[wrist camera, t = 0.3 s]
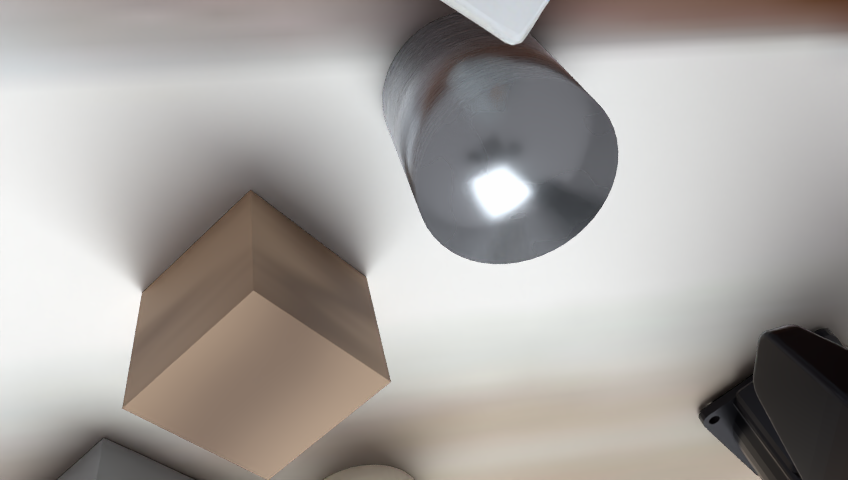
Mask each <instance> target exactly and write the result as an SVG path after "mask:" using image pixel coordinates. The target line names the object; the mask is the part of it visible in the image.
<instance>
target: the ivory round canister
mask: <svg viewBox="0 0 848 480" xmlns="http://www.w3.org/2000/svg"><path fill="white" fill-rule="evenodd" d="M323 480H414V479H413V478H412V477H411V476H410V475H409V474H408V473H406V472H404V471H402V470H400V469H398V468H395V467H391V466H386V465H361V466H355V467H351V468H347V469H344V470H341V471H339V472H336V473H334V474H332V475H330V476H328V477H327V478H325V479H323Z"/></svg>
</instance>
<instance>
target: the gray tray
mask: <svg viewBox="0 0 848 480" xmlns="http://www.w3.org/2000/svg"><path fill="white" fill-rule="evenodd" d="M57 480H194V479H192V478H190V477H188V476H186V475H184V474H181V473H179V472H177V471H175V470H173V469H171V468H168V467H166V466H164V465H162V464H160V463H158V462H155V461H153V460H151V459H149V458H147V457H145V456H142V455H140V454H138V453H136V452H134V451H132V450H129V449H127V448H125V447H123V446H121V445H119V444H116V443H114V442H112V441H110V440H108V439H106V438H103V439H102V440H101V441H100V442H99V443H97V444H96V445H95V446H94V447H93V448H92V449H91V450H90V451H89V452H87V453H86V454H85V455H84V456H83V457H82V458H81V459H80V460H78V461H77V462H76V463H75V464H74V465H73V466H72V467H71V468H69V469H68V470H67V471H66V472H65V473H64V474H63V475H62V476H61V477H59V478H58V479H57Z"/></svg>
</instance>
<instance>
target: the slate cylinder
mask: <svg viewBox="0 0 848 480" xmlns="http://www.w3.org/2000/svg"><path fill="white" fill-rule="evenodd" d="M383 111H384V117H385V121H386V124H387V127H388V130H389V132H390V135H391V138H392V140H393V143H394V145H395V148H396V151H397V153H398V156H399V158H400V161H401V164H402V166H403V169H404V171H405V174H406V177H407V179H408V182H409V184H410V187H411V190H412V192H413V195H414V198H415V200H416V203H417V205H418V208H419V211H420V213H421V216H422V218H423V220H424V222H425V224H426V226H427V228H428V229H429V231H430V232H431V233H432V235H433V236H434V237H435V238H436V239H437V240H438V241H439V242H440V243H441V244H442V245H443V246H444V247H446V248H447V249H448V250H450V251H451V252H453V253H455V254H457V255H459V256H461V257H464V258H466V259H469V260H472V261H477V262H481V263H490V264H508V263H516V262H521V261H526V260H530V259H533V258H536V257H539V256H542V255H544V254H546V253H548V252H551V251H553V250H555V249H556V248H558V247H560V246H562V245H563V244H565V243H566V242H568V241H569V240H570V239H572V238H573V237H575V236H576V235H577V234H578V233H579V232H580V231H581V230H583V229H584V228H585V227H586V226H587V225H588V223H589V222H590V221H591V220H592V219H593V218H594V217H595V215H596V214H597V213H598V211H599V210H600V209H601V207H602V205H603V204H604V202H605V200H606V199H607V197H608V194H609V192H610V190H611V188H612V185H613V182H614V179H615V175H616V170H617V164H618V146H617V138H616V135H615V131H614V128H613V126H612V123H611V121H610V119H609V117H608V116H607V114H606V113H605V111H604V110H603V108H602V107H601V106H600V105H599V104H598V103H597V102H596V101H595V100H594V99H593V98H592V97H591V96H590V95H589V94H588V93H587V92H586V91H585V90H584V89H583V88H582V87H581V86H580V85H579V84H578V82H577V81H576V80H575V79H574V78H573V77H572V76H571V75H570V74H569V73H568V72H567V71H566V70H565V69H564V68H563V67H562V66H561V65H560V64H559V63H558V62H557V61H556V60H555V59H554V58H553V57H552V56H551V55H550V54H549V53H548V52H547V51H546V50H545V49H544V48H543V47H542V46H541V45H540V44H539V42H538V41H537V40H536V39H535V38H534V37H533V36H532V35H531V34H530V33H528V35H527V36H526V38H525V39H524V40H523V41H522V42H521V43H519V44H515V45H510V44H507V43H505V42H503V41H502V40H500V39H499V38H497V37H496V36H494V35H493V34H491V33H490V32H488V31H487V30H485V29H484V28H482V27H481V26H479V25H478V24H476V23H475V22H473V21H472V20H470V19H468V18H467V17H465V16H464V15H462V14H461V13H454V14H451V15H448V16H445V17H442V18H440V19H438V20H435V21H433V22H431V23H430V24H428V25H426V26H425V27H423V28H422V29H420V30H419V31H418V32H417V33H416V34H414V35H413V36H412V37H411V38H410V39H409V40H408V41H407V42H406V43H405V44H404V45H403V47H402V48H401V49H400V51H399V52H398V54H397V55H396V57H395V59H394V60H393V62H392V64H391V66H390V68H389V71H388V74H387V76H386V80H385V84H384V90H383Z"/></svg>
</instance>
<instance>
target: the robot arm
mask: <svg viewBox="0 0 848 480" xmlns="http://www.w3.org/2000/svg"><path fill="white" fill-rule="evenodd" d="M699 419H700V420H701V422H702V423H703V425H704V426H705V427H706V428H707V429H708V430H709V431H710V432H711V433H712V434H713V435H714V436H715V437H716V438H717V439H718V440H720V441H721V442H722V443H723V444H724V445H725V446H726V447H727V448H728V449H729V450H730V451H731V452H732V453H734V454H735V455H736V456H737V457H738V458H739V459H740V460H741V461H742V462H743V463H744V464H745V465H746V466H747V467H749V468H750V469H751V470H752V471H753V472H754V473H755V474H756V475H758V476H760V478H761V479H762V480H848V349H846V348H844V347H843V346H842V344H841V343H840V342H839V340H838V339H837V338H836V336H835V335H834V334H833V333H832V332H831V331H830V330H828V329H824V328H823V329H819V330H817V331H816V332H814V333H813V332H811V331H809V330H807V329H804V328H802V327H800V326H796V325H787V326H783V327H779V328H775V329H771V330H767V331H765V332H763V333H762V334H761V336H760V337H759V340H758V346H757V353H756V360H755V367H754V374H753V375H752V376H750V377H749V378H747V379H746V380H745V381H743V382H742V383H740V384H739V385H737V386H736V387H734V388H733V389H732V390H730V391H729V392H727V393H726V394H724V395H723V396H721V397H720V398H719V399H717V400H716V401H714V402H713V403H711V404H710V405H708V406H707V407H706V408H704V409H703V410H702V411H701V412H700V414H699Z"/></svg>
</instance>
